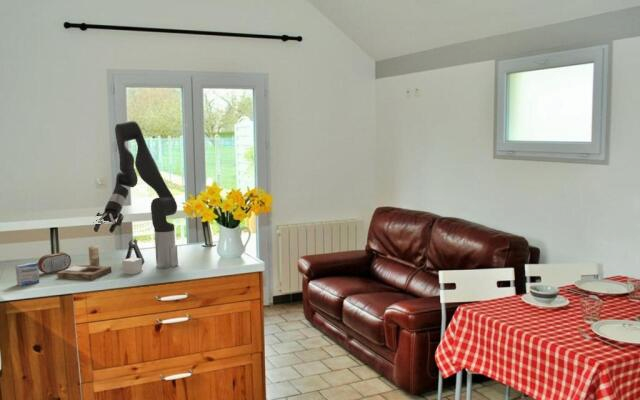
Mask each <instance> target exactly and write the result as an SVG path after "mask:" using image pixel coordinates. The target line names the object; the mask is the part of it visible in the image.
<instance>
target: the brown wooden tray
mask: <svg viewBox="0 0 640 400" xmlns="http://www.w3.org/2000/svg"><path fill="white" fill-rule="evenodd" d="M74 266H79V267H87V268H85V269H83V270H80V271H64V270H62V271H57V273H56V274H57V279H68V280H81V281H82V280H85V281H93V280H96V279H98V278H101V277H103V276H105V275H108V274H109V273H112V266H105V265H102V266H101V265H100V266H90V264H89V265H86V264H85V265H84V264H77V265H73V266H72V267H74ZM65 270H66V269H65Z"/></svg>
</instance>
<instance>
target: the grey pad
mask: <svg viewBox="0 0 640 400" xmlns="http://www.w3.org/2000/svg"><path fill="white" fill-rule="evenodd" d="M73 266H74V267H73ZM73 266H71V267H68V268H67V269H66V270H64V271H80V270H83V269H85V268H87V267H79V266H76V265H73Z"/></svg>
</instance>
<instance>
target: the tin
mask: <svg viewBox="0 0 640 400" xmlns="http://www.w3.org/2000/svg"><path fill="white" fill-rule="evenodd" d="M37 263H38V271H40V272H42V273H45V274H53V273H56V272H57V273H58V272H60V271H63V270H65V269H68V268H70V266H71V264H72V259H71V256H70V255H69V254H68V253H65V252H56V253H51V254H45V255H43V256H41V257H40V259H39V260H38V262H37Z"/></svg>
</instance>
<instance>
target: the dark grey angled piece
mask: <svg viewBox="0 0 640 400" xmlns="http://www.w3.org/2000/svg"><path fill="white" fill-rule="evenodd" d="M140 250H141V249H140V248H139V245H138V240H137V239H136V238H134V239H133V238H131V239H130V241H129V242H128V250H127V253H126V255H125V259H124V260H126V259H129V258H132V256H131V255H132V251H134V253H135V256H136V257H135V258H141V259H142V266H143V265H144V263H145V258H144V256H143V254H142V252H141V251H140Z"/></svg>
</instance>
